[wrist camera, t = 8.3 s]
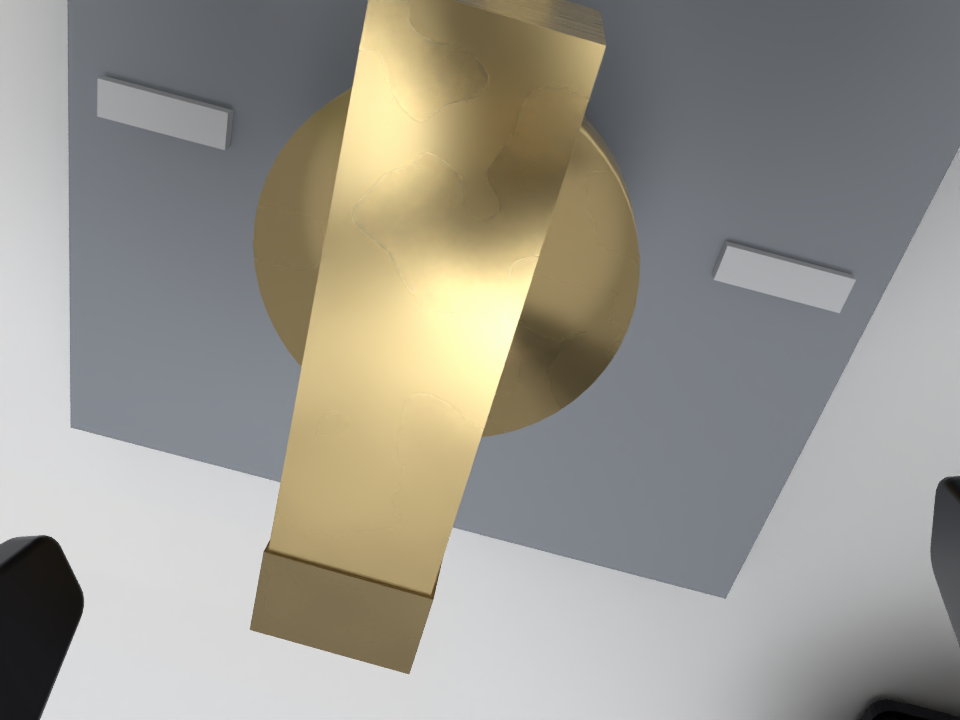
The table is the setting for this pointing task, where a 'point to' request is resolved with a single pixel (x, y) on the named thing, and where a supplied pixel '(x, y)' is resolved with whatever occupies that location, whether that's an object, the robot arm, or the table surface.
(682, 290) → the post base
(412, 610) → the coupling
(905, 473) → the table surface
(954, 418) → the table surface
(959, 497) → the robot arm
